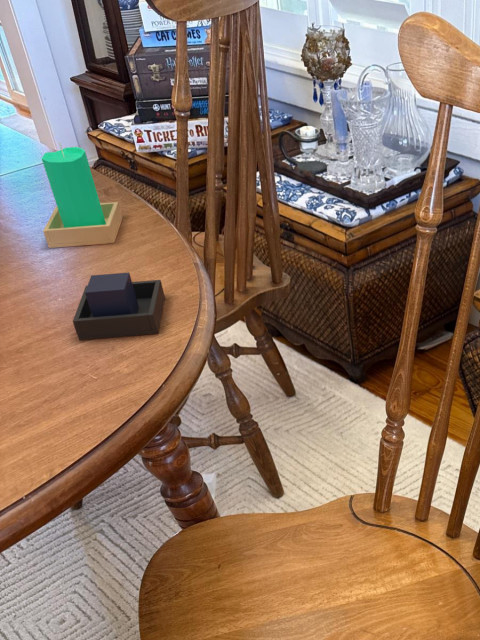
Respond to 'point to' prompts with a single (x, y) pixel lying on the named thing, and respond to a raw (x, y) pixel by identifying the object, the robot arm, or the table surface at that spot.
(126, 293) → the navy block
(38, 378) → the table surface
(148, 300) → the slate tray
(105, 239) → the cream tray
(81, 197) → the candle
